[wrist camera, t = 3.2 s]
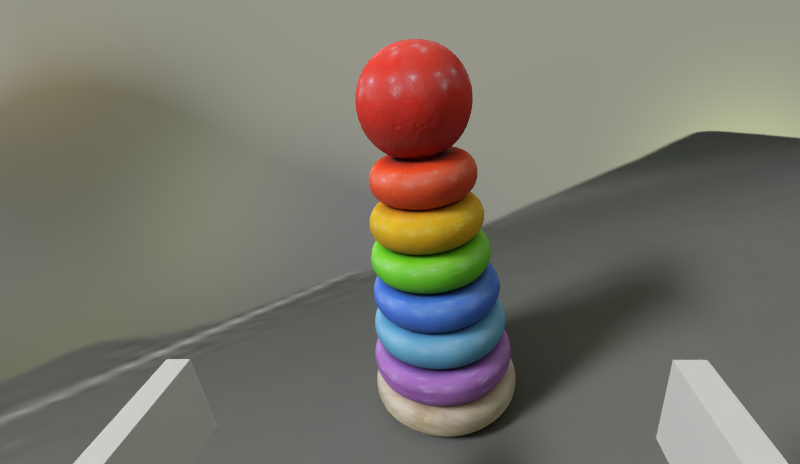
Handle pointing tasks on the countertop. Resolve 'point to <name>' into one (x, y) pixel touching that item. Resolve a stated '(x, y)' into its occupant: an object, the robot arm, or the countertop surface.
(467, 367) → the stacking toy
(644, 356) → the countertop surface
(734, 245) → the countertop surface
